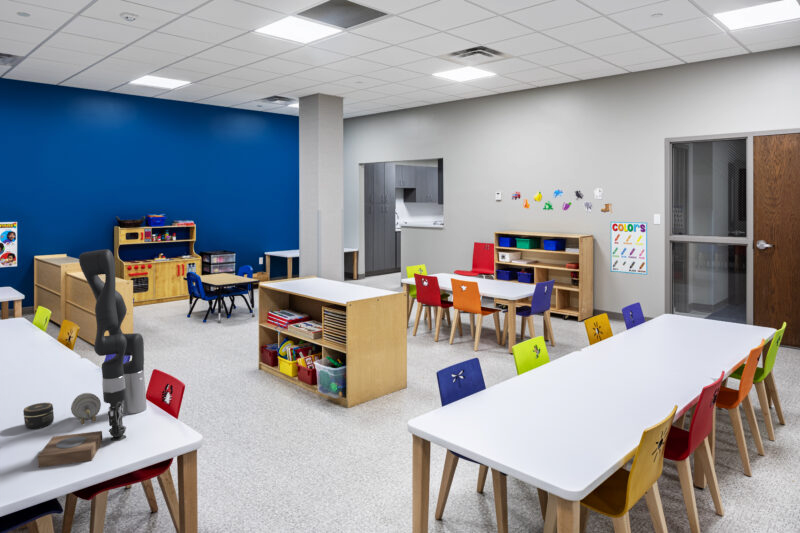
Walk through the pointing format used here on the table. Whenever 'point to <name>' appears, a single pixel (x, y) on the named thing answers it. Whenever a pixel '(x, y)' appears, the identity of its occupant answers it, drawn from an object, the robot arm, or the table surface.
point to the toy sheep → (86, 407)
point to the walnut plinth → (70, 449)
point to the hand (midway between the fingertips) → (117, 431)
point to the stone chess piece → (121, 431)
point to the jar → (38, 415)
